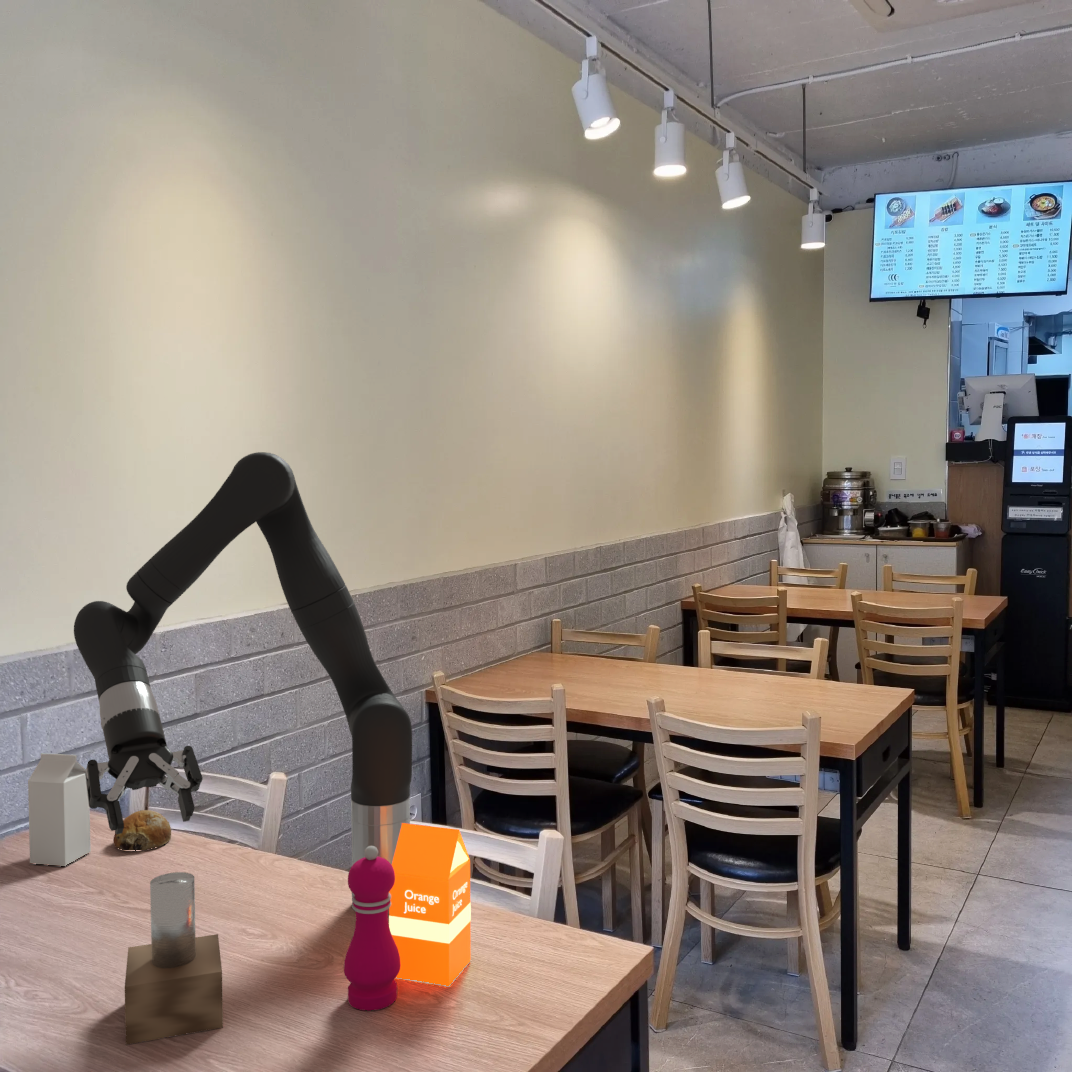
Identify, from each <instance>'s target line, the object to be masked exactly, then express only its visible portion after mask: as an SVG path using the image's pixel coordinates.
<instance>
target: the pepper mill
mask: <svg viewBox="0 0 1072 1072" xmlns="http://www.w3.org/2000/svg"><path fill="white" fill-rule="evenodd" d="M364 855H365V857H364V858H361V859H360V860H358V861H356V862H355V863H354V864H353V865H352V864H351V866H350V869H349V871H348V875H347V886H348V889H349V890H350V891H351V894H352V893H353V894H354V895H353V897H352V896H351V901H352V902H353V904H352V902H351V908H352V910H353V911H354V912H355V923H354V926H355V927H354V931H353V935H352V938H351V940H350V943H349V946H348V948H347V950H346V952H345V953H346V954H345V957H344V963H343V974H344V975H345V976H344V977H345V978H346V980H348V981H347V982H349V985H348V987H347V1001H348V1003H349V1005H350V1006H351V1007H352V1008H354V1009H357V1010H360V1011H365V1010H367V1011H366V1012H369V1011H371V1010H374V1011H378V1010H383V1009H385V1008H387V1007H390V1006H391V1005H393V1004H394V1003H395V1002H394V1001H396V1000H397V998H398V984H397V981H396V979H395V978H396V976H397V975H398V973H399V971H400V967H401V964H400V956H399V952H398V948H397V946H396V944H395V941H394V939H393V937H392V934H391V932H390V928H389V915H388V909H389V908H390V906H391V900H390V899H391V894H390V893H389V891H390V890H391V889H392V887H393V886H394V883H395V873H394V869H393V867H392V865H391V864H390V862H389V861H387V860H386V859H384V858H382V857H378V850H377V848H376V847H375V846H369V847H367V848H366V849H365V852H364ZM389 1005H390V1006H389ZM371 1012H372V1011H371Z"/></svg>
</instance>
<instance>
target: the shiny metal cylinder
mask: <svg viewBox="0 0 1072 1072" xmlns="http://www.w3.org/2000/svg"><path fill="white" fill-rule="evenodd" d="M195 880H196V879H195V875H194V874H192V873H190V872H184V871H182V872H181V871H179V872H178V871H175V872H170V873H164V874H161V875H158V876H156V877H154V878H153V879H151V880H150V882H149V889H150V891H149V893H150V894H149V895H150V933H151V934H150V935H151V936H150V938H151V939H150V944H151V949H152V964H153V965H154V966H155V967H158V968H175V967H180V966H183V965H186V964H188V963H190V962H191V961H193V960H194V959H195V957H196V936H197V935H196V904H195V903H196V900H195V899H196V893H195V892H196V891H195V890H196V887H195V883H196V882H195Z"/></svg>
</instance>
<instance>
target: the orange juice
mask: <svg viewBox="0 0 1072 1072" xmlns="http://www.w3.org/2000/svg"><path fill="white" fill-rule="evenodd" d="M392 867H393V869H394V873H395V883H394V886H393V887H392V889H391V890H390V891H389V893H390V894H391V899H390V900H391V906H390V908H389V913H390V914H389V915H388V924H389V928H390V932H391V934H392V937H393V939H394V941H395V944H396V946H397V948H398V952H399V956H400V964H401V967H400V971H399V973H398V975H397V976H396V977H397V978H402V979H410V980H417V981H422V982H423V981H424V982H429V983H433V984H434V983H435V984H441V985H446V986H449V985H450V984H451V983H452V982H453V980H454V979H455V978H456V977H457V976H458V975H459V973H460V972H461V971H462V970H463V968H464V967H465V966H466V965H467V964H468V963H469V962H470V960H471V959H472V957H471V950H472V949H471V947H472V946H471V941H472V940H471V937H472V936H471V920H472V913H471V912H472V906H471V905H472V902H471V859H470V856H469V853H468V851H467V846H466V844H465V842H464V838H463V835H462V833H461V831H460V829H457V828H450V827H439V826H431V825H422V824H413V823H410V824H406V823H402V826H401V830H400V834H399V838H398V842H397V846H396V850H395V854H394V858H393V862H392ZM471 961H472V960H471Z"/></svg>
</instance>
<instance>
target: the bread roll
mask: <svg viewBox="0 0 1072 1072" xmlns="http://www.w3.org/2000/svg"><path fill="white" fill-rule="evenodd" d="M123 822H124V829H123V832H122V833H121V834H116V833H115V832H114V836H113V845H114V847H115V848H116V847H117V848H119V849H122V850H135V851H136V850H147V849H151V848H155V847H159V846H160V847H163V846H164V844H165V845H166V844H168V843H169V841H171V839H172V829H171V827H172V826H171V825H170V822H169V821H168V820H167V818H166V817H165V816H164V815H163V814H161V813H159V812H157V811H154V810H152V809H151V810H150V809H149V810H148V809H144V810H143V809H141V810H138V811H134V812H132V813H131V814H129V815H128V816H126V817H125V818H124V819H123ZM167 842H168V843H167ZM160 847H159V848H160ZM117 848H116V849H117ZM151 850H152V849H151ZM147 851H148V850H147Z"/></svg>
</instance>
